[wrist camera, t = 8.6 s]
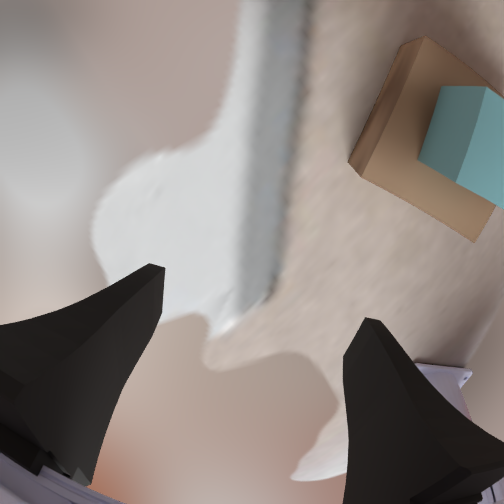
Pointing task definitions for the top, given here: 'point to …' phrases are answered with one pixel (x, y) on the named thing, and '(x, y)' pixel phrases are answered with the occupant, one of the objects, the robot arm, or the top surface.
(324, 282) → the top surface
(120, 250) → the top surface
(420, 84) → the walnut block
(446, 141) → the teal cube
